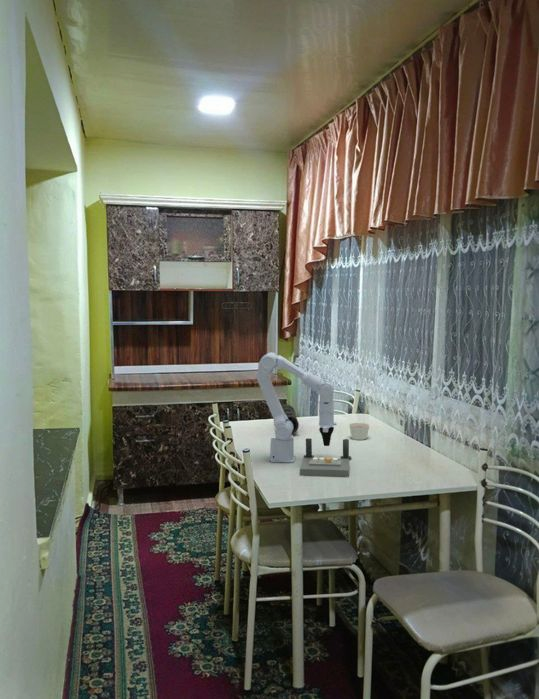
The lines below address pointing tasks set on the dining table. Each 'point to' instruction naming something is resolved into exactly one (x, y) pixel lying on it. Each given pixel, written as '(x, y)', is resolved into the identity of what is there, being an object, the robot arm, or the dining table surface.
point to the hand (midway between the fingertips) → (326, 445)
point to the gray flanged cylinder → (308, 448)
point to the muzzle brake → (291, 416)
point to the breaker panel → (325, 467)
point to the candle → (359, 430)
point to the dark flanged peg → (345, 450)
